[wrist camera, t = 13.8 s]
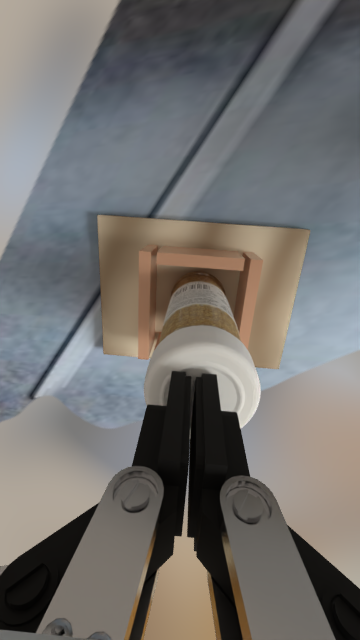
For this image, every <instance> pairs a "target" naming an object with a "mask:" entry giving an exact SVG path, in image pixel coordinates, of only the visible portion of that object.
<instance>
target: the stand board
mask: <svg viewBox="0 0 360 640" xmlns="http://www.w3.org/2000/svg"><path fill="white" fill-rule="evenodd" d="M97 220H98V242H99V264H100V286H101V308H102V330H103V352H104V354H109V355H120V356H132V357H138V306H139V251H140V250H141V249H142V248H144V247H145V246H147V245H158V251H159V250H160V248H161V247H162V246H174V247H188V248H201V249H215V250H228V251H238V252H239V253H240V254H241V255H243V252H254V253H255V254H256V255H257V256H259V257H260V258H261V259H262V260H263V265H262V271H261V276H260V282H259V288H258V293H257V299H256V305H255V310H254V316H253V322H252V328H251V333H250V339H249V345H248V351H249V353H250V355H251V357H252V360H253V363H254V366H255V367H259V368H270V369H279V365H280V361H281V357H282V352H283V348H284V343H285V339H286V335H287V330H288V326H289V322H290V317H291V313H292V309H293V304H294V300H295V296H296V291H297V287H298V283H299V278H300V274H301V270H302V265H303V261H304V256H305V252H306V248H307V243H308V239H309V235H310V230H307V229H297V228H283V227H269V226H255V225H240V224H226V223H212V222H198V221H183V220H169V219H155V218H141V217H127V216H112V215H97ZM192 272H205V273H208V274H211V275H213V276H214V277H216V278H217V279H218V280H219V281H220V282H221V283H222V285H223V287H224V290H225V294H226V298H227V300H228V303H229V306H230V308H231V311H232V314H233V316H234V310H235V303H236V296H237V289H238V282H239V276H240V271H238V270H224V269H211V268H198V267H185V266H172V265H158V264H157V291H156V321H155V341H154V344H153V347H152V350H151V353H150V356H149V358H151V356H152V354H153V352H154V349H155V345H156V342H157V339H158V336H159V333H160V332H162V329H163V323H164V319H165V316H166V312H167V309H168V306H169V303H170V299H171V292H172V289H173V287H174V285H175V283H177V282H178V280H179V279H180V278H181V277H183V276H184V275H187V274H189V273H192Z"/></svg>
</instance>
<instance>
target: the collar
mask: <svg viewBox="0 0 360 640" xmlns="http://www.w3.org/2000/svg"><path fill="white" fill-rule="evenodd" d="M157 264H158V265H172V266H185V267H198V268H211V269H224V270H238V271H240V276H239V282H238V289H237V296H236V303H235V310H234V316H233V317H234V320H235V322H236V325H237V328H238V331H239V336H240V340H241V342H242V343H243V344H244V345H245V347H246V348H247V350H248V345H249V339H250V333H251V328H252V322H253V316H254V310H255V305H256V299H257V293H258V288H259V282H260V276H261V271H262V265H263V260H262V259H261V258H260V257H259V256H257V255H256V254H255V253H254V252H243V255H241V254H240V253H239V252H238V251H228V250H215V249H201V248H188V247H174V246H162V247H161V248H160V250H159V251H158V245H147V246H145V247H144V248H142V249H141V250H140V251H139V306H138V359H146V360H148V359H149V356H150V353H151V350H152V347H153V344H154V341H155V321H156V291H157ZM161 333H162V332H160V333H159V336H158V339H157V342H156V345H155V349H156V347H157V346H158V345H159V341H160V337H161ZM155 349H154V350H155Z"/></svg>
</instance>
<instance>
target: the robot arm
mask: <svg viewBox="0 0 360 640" xmlns="http://www.w3.org/2000/svg"><path fill="white" fill-rule="evenodd" d="M190 410H191V376H186V372H181V371H172V373H171V380H170V386H169V393H168V399H167V406H161V405H149V404H148V405H147V408H146V412H145V416H144V420H143V424H142V428H141V432H140V436H139V440H138V444H137V448H136V452H135V456H134V460H133V464H132V467H128V468H126V469H123V470H121V471H120V472H118V474H116V475H115V476H114V477H113V478H112V480H111V481H110V483H109V484H108V486H107V488H106V490H105V492H104V494H103V496H102V498H101V501H100V502H99V503H98V504H96V505H95V506H93V507H92V508H91V509H89V510H88V511H86V512H85V513H83V514H82V515H80V516H79V517H77V518H76V519H74V520H73V521H71V522H70V523H68V524H67V525H65V526H64V527H62V528H61V529H59V530H58V531H56V532H55V533H53V534H52V535H51V536H49V537H48V538H46V539H45V540H43V541H42V542H40V543H39V544H37V545H36V546H34V547H33V548H31V549H30V550H28V551H27V552H25V553H24V554H22V555H21V556H19V557H18V558H17V559H16V560H14V561H13V562H12V563H11V564H10V565H6V566H0V640H144V636H145V631H146V627H147V622H148V618H149V614H150V609H151V605H152V600H153V596H154V592H155V587H156V583H157V579H158V574H159V567H161V566H162V565H163V564H164V563H165V562H166V561H167V559H169V558H170V556H172V555H173V548H174V536H181V535H182V525H183V516H184V506H185V496H186V486H187V476H188V465H189V495H188V529H187V530H188V531H187V537H192V538H194V551H197V558H198V559H199V560H200V562H201V563H202V564H203V566H204V567H205V568H206V569H207V578H208V586H209V593H210V600H211V606H212V613H213V620H214V626H215V633H216V640H360V589H359V588H358V587H357V586H356V585H355V584H353V583H352V582H351V581H350V580H349V579H348V578H347V577H346V576H345V575H343V574H342V573H341V572H340V571H339V570H338V569H337V568H335V567H334V566H333V565H332V564H331V563H330V562H329V561H327V560H326V559H325V558H324V557H323V556H322V555H321V554H320V553H318V552H317V551H316V550H315V549H314V548H313V547H312V546H310V545H309V544H308V543H307V542H306V541H305V540H304V539H303V538H301V537H300V536H299V535H298V534H297V533H296V532H294V531H293V530H292V529H291V528H290V527H289V526H288V525H287V524H286V521H285V519H284V517H283V514H282V512H281V510H280V507H279V505H278V503H277V500H276V499H275V497H274V495H273V493H272V492H271V491H270V489H269V488H268V487H267V486H266V485H265V484H263V483H262V482H260V481H258V480H257V479H255V478H252V477H250V474H249V469H248V464H247V459H246V454H245V449H244V444H243V439H242V435H241V429H240V424H239V419H238V415H237V413H236V412H230V411H221V406H220V398H219V390H218V381H217V375H216V374H205V373H202V376H201V377H196V382H195V392H194V402H193V412H192V422H191V432H190ZM189 444H190V457H189Z"/></svg>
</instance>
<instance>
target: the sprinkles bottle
mask: <svg viewBox="0 0 360 640" xmlns="http://www.w3.org/2000/svg"><path fill="white" fill-rule="evenodd" d="M172 371H181V372H186V376H191V410H190V432H191V422H192V412H193V402H194V392H195V382H196V377H201V376H202V373H205V374H216V375H217V381H218V390H219V398H220V406H221V411H230V412H236V413H237V415H238V419H239V424H240V429H241V428H242V427H243V426H244V425H245V424H246V423H247V422H248V421H249V420H250V419H251V418H252V416H253V415H254V413H255V411H256V409H257V407H258V404H259V400H260V393H261V390H260V381H259V377H258V374H257V371H256V368H255V366H254V363H253V360H252V357H251V355H250V353H249V351H248V350H247V348H246V347H245V345H244V344H243V343H242V342H241V340H240V336H239V331H238V328H237V325H236V322H235V320H234V317H233V314H232V311H231V308H230V306H229V303H228V300H227V298H226V294H225V290H224V287H223V285H222V283H221V282H220V281H219V280H218V279H217V278H216V277H214V276H213V275H211V274H208V273H205V272H192V273H189V274H187V275H184V276H183V277H181V278H180V279H179V280H178V282H177V283H175V285H174V287H173V289H172V292H171V299H170V303H169V306H168V309H167V312H166V316H165V319H164V323H163V329H162V333H161V337H160V341H159V345H158V346H157V347H156V349H155V350H154V352H153V354H152V356H151V359H150V362H149V366H148V369H147V373H146V377H145V383H144V397H145V401H146V405H148V404H149V405H161V406H167V399H168V393H169V386H170V380H171V373H172Z"/></svg>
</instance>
